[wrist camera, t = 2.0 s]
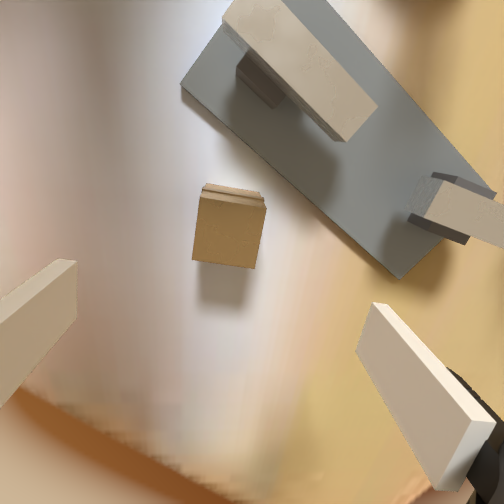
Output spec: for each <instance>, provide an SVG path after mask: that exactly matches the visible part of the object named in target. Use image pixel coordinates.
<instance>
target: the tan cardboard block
mask: <svg viewBox="0 0 504 504" xmlns="http://www.w3.org/2000/svg"><path fill="white" fill-rule="evenodd" d="M266 209H267V208H266V206H265V204H264V198H263V197H261V195H260V193H259V192H254V191H248V190H243V189H237V188H231V187H226V186H220V185H214V184H208V183H206V185H205V187H203V188H202V194H201V196H200V200H199V208H198V216H197V223H196V231H195V239H194V246H193V254H192V260H196V261H203V262H210V263H217V264H224V265H231V266H238V267H245V268H251V269H255V264H256V259H257V254H258V249H259V244H260V239H261V234H262V229H263V224H264V219H265V214H266Z"/></svg>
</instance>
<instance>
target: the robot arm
mask: <svg viewBox="0 0 504 504" xmlns="http://www.w3.org/2000/svg"><path fill="white" fill-rule="evenodd" d="M76 319H77V261H74V260H67V259H60V258H58V259H56V260H55V261H54V262H52V263H51V264H49V265H48V266H46V267H45V268H44V269H42V270H41V271H39V272H38V273H37V274H35V275H34V276H32V277H31V278H30V279H28V280H27V281H25V282H24V283H23V284H21V285H20V286H18V287H17V288H15V289H14V290H13V291H11V292H10V293H8V294H7V295H6V296H4V297H3V298H1V299H0V409H1V407H2V406H3V405H4V404H5V403H6V401H7V400H8V399H9V398H10V397H11V396H12V394H13V393H14V392H15V391H16V390H17V388H18V387H19V386H20V385H21V384H22V382H23V381H24V380H25V379H26V378H27V377H28V375H29V374H30V373H31V372H32V371H33V369H34V368H35V367H36V366H37V365H38V364H39V362H40V361H41V360H42V359H43V358H44V356H45V355H46V354H47V353H48V352H49V351H50V349H51V348H52V347H53V346H54V345H55V343H56V342H57V341H58V340H59V339H60V337H61V336H62V335H63V334H64V333H65V332H66V330H67V329H68V328H69V327H70V326H71V324H72V323H73V322H74V321H75V320H76ZM355 352H356V353H357V355H358V357H359V359H360V360H361V362H362V364H363V366H364V367H365V369H366V371H367V373H368V374H369V376H370V378H371V380H372V381H373V383H374V385H375V386H376V388H377V390H378V392H379V393H380V395H381V397H382V399H383V400H384V402H385V404H386V406H387V407H388V409H389V411H390V413H391V414H392V416H393V418H394V420H395V421H396V423H397V425H398V427H399V428H400V430H401V432H402V434H403V435H404V437H405V439H406V440H407V442H408V444H409V446H410V447H411V449H412V451H413V453H414V454H415V456H416V458H417V460H418V461H419V463H420V465H421V467H422V468H423V470H424V472H425V474H426V475H427V477H428V479H429V481H430V482H431V484H432V486H433V488H434V489H435V490H441V491H457V492H458V491H459V489H460V487H461V485H462V484H463V482H464V480H465V478H466V477H467V478H468V480H469V481H470V483H471V484H472V486H473V487H474V488H475V490H474V491H473V493H472V495H471V496H470V498H469V500H468V502H467V503H466V504H504V422H503V421H502V420H501V418H500V417H499V416H498V415H497V414H496V413H495V412H494V411H493V410H492V409H491V408H490V407H489V406H488V405H487V404H486V403H485V402H484V401H483V400H481V399H480V398H481V397H480V396H479V395H478V394H477V393H476V392H475V391H473V390H472V388H471V387H470V386H469V385H468V384H467V383H466V382H465V381H464V380H463V379H462V377H460V376H459V375H457V374H456V373H455V372H453V371H452V370H451V369H449V368H448V367H445V366H444V365H443V364H442V363H441V362H440V361H439V360H438V359H437V357H436V356H435V355H434V354H433V353H432V352H431V351H430V350H429V349H428V348H427V347H426V346H425V344H424V343H423V342H422V341H421V340H420V339H419V338H418V337H417V336H416V335H415V334H414V333H413V331H412V330H411V329H410V328H409V327H408V326H407V325H406V324H405V323H404V322H403V321H402V320H401V318H400V317H399V316H398V315H397V314H396V313H395V312H394V311H393V310H392V309H391V308H390V307H389V305H388V304H382V303H375V302H372V304H371V307H370V310H369V313H368V316H367V318H366V321H365V324H364V327H363V330H362V333H361V336H360V339H359V342H358V345H357V348H356V351H355Z"/></svg>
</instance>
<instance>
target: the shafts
mask: <svg viewBox="0 0 504 504" xmlns="http://www.w3.org/2000/svg"><path fill="white" fill-rule="evenodd" d="M222 26H223V32H224V33H225V34H226V35H227V36H228V37H229V38H230V39H231V40H232V41H233V42H234V43H235V44H236V45H237V46H238V47H239V48H240V49H241V50H242V51H243V52H244V53H245V54H246V55H247V56H248V57H249V58H250V59H251V60H252V61H253V62H254V63H255V64H256V65H257V66H258V67H259V68H260V69H261V70H262V71H263V72H264V73H265V74H266V75H267V76H268V77H269V78H270V79H271V80H272V81H273V82H274V83H275V84H276V85H277V86H278V87H279V88H280V89H281V90H282V91H283V92H284V93H285V94H286V95H287V96H288V97H289V98H290V99H291V100H292V101H293V102H294V103H295V104H296V105H297V106H298V107H299V108H300V109H301V110H302V111H303V112H304V113H305V114H306V115H307V116H309V117H310V118H311V119H312V120H313V121H314V122H315V123H316V124H317V125H318V126H319V127H320V128H321V129H322V130H323V131H324V132H325V133H326V134H327V135H328V136H329V137H330V138H331V139H332V140H333V141H336V142H347V141H348V140H349V139H350V138H351V137H352V136H353V134H354V133H355V132H356V131H357V130H358V129H359V128H360V127H361V125H362V124H363V123H364V122H365V121H366V120H367V119H368V118H369V116H370V115H371V114H372V113H373V112H374V111H375V110H376V109H377V107H378V105H377V104H376V103H375V102H374V101H373V100H372V99H371V98H370V97H369V96H368V95H367V93H366V92H365V91H364V90H363V89H362V88H361V87H360V86H359V85H358V84H357V83H356V81H355V80H354V79H353V78H352V77H351V76H350V75H349V74H348V73H347V72H346V71H345V69H344V68H343V67H342V66H341V65H340V64H339V63H338V62H337V61H336V60H335V59H334V57H333V56H332V55H331V54H330V53H329V52H328V51H327V50H326V49H325V48H324V47H323V46H322V44H321V43H320V42H319V41H318V40H317V39H316V38H315V37H314V36H313V35H312V34H311V32H310V31H309V30H308V29H307V28H306V27H305V26H304V25H303V24H302V23H301V22H300V20H299V19H298V18H297V17H296V16H295V15H294V14H293V13H292V12H291V11H290V10H289V8H288V7H287V6H286V5H285V4H284V3H283V2H282V1H281V0H234V1H233V2H232V4H231V5H230V6H229V8H228V9H227V11H226V12H225V14H224V15H223V16H222ZM404 209H405V210H407V211H409V212H412V213H414V214H416V215H418V216H421V217H423V218H426V219H428V220H431V221H433V222H436V223H438V224H441V225H444V226H446V227H449V228H451V229H454V230H457V231H459V232H462V233H464V234H467V235H469V236H472V237H475V238H477V239H480V240H482V241H485V242H487V243H490V244H493V245H495V246H498V247H500V248H503V249H504V205H503V204H500V203H498V202H496V201H493V200H491V199H488V198H486V197H484V196H481V195H479V194H476V193H474V192H472V191H469V190H467V189H464V188H462V187H460V186H457V185H455V184H452V183H450V182H448V181H445V180H441V179H437V178H432V177H428V176H423V175H422V176H421V177H420V179H419V181H418V183H417V185H416V187H415V189H414V191H413V193H412V194H411V196H410V198H409V200H408V202H407V204H406V206H405V208H404Z"/></svg>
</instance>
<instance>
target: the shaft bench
mask: <svg viewBox="0 0 504 504" xmlns="http://www.w3.org/2000/svg"><path fill="white" fill-rule="evenodd" d="M281 1H282V2H283V3H284V4H285V5H286V6H287V7H288V8H289V10H290V11H291V12H292V13H293V14H294V15H295V16H296V17H297V18H298V19H299V20H300V22H301V23H302V24H303V25H304V26H305V27H306V28H307V29H308V30H309V31H310V32H311V34H312V35H313V36H314V37H315V38H316V39H317V40H318V41H319V42H320V43H321V44H322V46H323V47H324V48H325V49H326V50H327V51H328V52H329V53H330V54H331V55H332V56H333V57H334V59H335V60H336V61H337V62H338V63H339V64H340V65H341V66H342V67H343V68H344V69H345V71H346V72H347V73H348V74H349V75H350V76H351V77H352V78H353V79H354V80H355V81H356V83H357V84H358V85H359V86H360V87H361V88H362V89H363V90H364V91H365V92H366V93H367V95H368V96H369V97H370V98H371V99H372V100H373V101H374V102H375V103H376V104H377V105H378V107H377V109H376V110H375V111H374V112H373V113H372V114H371V115H370V116H369V118H368V119H367V120H366V121H365V122H364V123H363V124H362V125H361V127H360V128H359V129H358V130H357V131H356V132H355V133H354V134H353V136H352V137H351V138H350V139H349V140H348V141H347V142H336V141H333V140H332V139H331V138H330V137H329V136H328V135H327V134H326V133H325V132H324V131H323V130H322V129H321V128H320V127H319V126H318V125H317V124H316V123H315V122H314V121H313V120H312V119H311V118H310V117H309V116H307V115H306V114H305V113H304V112H303V111H302V110H301V109H300V108H299V107H298V106H297V105H296V104H295V103H294V102H293V101H292V100H291V99H290V98H289V97H288V96H287V95H286V94H285V93H284V92H283V91H282V90H281V89H280V88H279V87H278V86H277V85H276V84H275V83H274V82H273V81H272V80H271V79H270V78H269V77H268V76H267V75H266V74H265V73H264V72H263V71H262V70H261V69H260V68H259V67H258V66H257V65H256V64H255V63H254V62H253V61H252V60H251V59H250V58H249V57H248V56H247V55H246V54H245V53H244V52H243V51H242V50H241V49H240V48H239V47H238V46H237V45H236V44H235V43H234V42H233V41H232V40H231V39H230V38H229V37H228V36H227V35H226V34H225V33H224V32H223V26H222V25H221V26H220V27H219V29H218V30H217V32H216V33H215V34H214V36H213V37H212V39H211V40H210V42H209V43H208V44H207V46H206V47H205V49H204V50H203V51H202V53H201V54H200V56H199V57H198V59H197V60H196V61H195V63H194V64H193V66H192V67H191V68H190V70H189V71H188V73H187V74H186V76H185V77H184V78H183V80H182V81H181V83H180V85H181V86H182V87H184V88H185V89H186V90H187V91H188V92H189V93H190V94H191V95H193V96H194V97H195V98H196V99H197V100H198V101H199V102H200V103H201V104H203V105H204V106H205V107H206V108H207V109H208V110H209V111H210V112H212V113H213V114H214V115H215V116H216V117H217V118H218V119H219V120H221V121H222V122H223V123H224V124H225V125H226V126H227V127H228V128H229V129H231V130H232V131H233V132H234V133H235V134H236V135H237V136H238V137H240V138H241V139H242V140H243V141H244V142H245V143H246V144H247V145H249V146H250V147H251V148H252V149H253V150H254V151H255V152H256V153H257V154H259V155H260V156H261V157H262V158H263V159H264V160H265V161H266V162H268V163H269V164H270V165H271V166H272V167H273V168H274V169H275V170H277V171H278V172H279V173H280V174H281V175H282V176H283V177H284V178H285V179H287V180H288V181H289V182H290V183H291V184H292V185H293V186H294V187H296V188H297V189H298V190H299V191H300V192H301V193H302V194H303V195H304V196H306V197H307V198H308V199H309V200H310V201H311V202H312V203H313V204H315V205H316V206H317V207H318V208H319V209H320V210H321V211H322V212H324V213H325V214H326V215H327V216H328V217H329V218H330V219H331V220H332V221H334V222H335V223H336V224H337V225H338V226H339V227H340V228H341V229H343V230H344V231H345V232H346V233H347V234H348V235H349V236H350V237H352V238H353V239H354V240H355V241H356V242H357V243H358V244H359V245H360V246H362V247H363V248H364V249H365V250H366V251H367V252H368V253H369V254H371V255H372V256H373V257H374V258H375V259H376V260H377V261H378V262H380V263H381V264H382V265H383V266H384V267H385V268H386V269H387V270H388V271H390V272H391V273H392V274H393V275H394V276H395V277H396V278H398V279H399V280H400V279H401V278H402V277H403V276H404V275H405V274H406V273H407V272H408V271H409V270H410V269H412V268H413V267H414V266H415V265H416V264H417V263H418V262H419V261H420V260H421V259H422V258H423V257H424V256H425V255H426V254H427V253H428V252H430V251H431V250H432V249H433V248H434V247H435V246H436V245H437V244H438V243H439V242H440V241H441V240H442V239H443V238H447V239H449V240H452V241H455V242H457V243H460V244H463V245H465V244H466V243H467V241H468V239H469V238H470V236H469V235H467V234H464V233H462V232H459V231H457V230H454V229H451V228H449V227H446V226H444V225H441V224H438V223H436V222H433V221H431V220H428V219H426V218H423V217H421V216H418V215H416V214H414V213H412V212H409V211H407V210H405V209H404V208H405V206H406V204H407V202H408V200H409V198H410V196H411V194H412V193H413V191H414V189H415V187H416V185H417V183H418V181H419V179H420V177H421V176H422V175H423V176H428V177H432V178H437V179H441V180H445V181H448V182H450V183H452V184H455V185H457V186H460V187H462V188H464V189H467V190H469V191H472V192H474V193H476V194H479V195H481V196H484V197H486V198H488V199H491V200H493V199H494V197H495V195H496V194H497V193H496V192H494V191H492V190H491V189H490V188H489V186H488V185H487V184H486V183H485V182H484V181H483V180H482V178H481V177H480V176H479V175H478V174H477V173H476V172H475V170H474V169H473V168H472V167H471V166H470V165H469V164H468V162H467V161H466V160H465V159H464V158H463V157H462V155H461V154H460V153H459V152H458V151H457V150H456V149H455V147H454V146H453V145H452V144H451V143H450V142H449V141H448V139H447V138H446V137H445V136H444V135H443V134H442V133H441V131H440V130H439V129H438V128H437V127H436V126H435V125H434V123H433V122H432V121H431V120H430V119H429V118H428V116H427V115H426V114H425V113H424V112H423V111H422V110H421V108H420V107H419V106H418V105H417V104H416V103H415V102H414V100H413V99H412V98H411V97H410V96H409V95H408V94H407V92H406V91H405V90H404V89H403V88H402V87H401V85H400V84H399V83H398V82H397V81H396V80H395V79H394V77H393V76H392V75H391V74H390V73H389V72H388V71H387V69H386V68H385V67H384V66H383V65H382V64H381V63H380V61H379V60H378V59H377V58H376V57H375V56H374V55H373V53H372V52H371V51H370V50H369V49H368V48H367V46H366V45H365V44H364V43H363V42H362V41H361V40H360V38H359V37H358V36H357V35H356V34H355V33H354V32H353V30H352V29H351V28H350V27H349V26H348V25H347V24H346V22H345V21H344V20H343V19H342V18H341V17H340V15H339V14H338V13H337V12H336V11H335V10H334V9H333V7H332V6H331V5H330V4H329V3H328V2H327V1H326V0H281Z"/></svg>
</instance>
